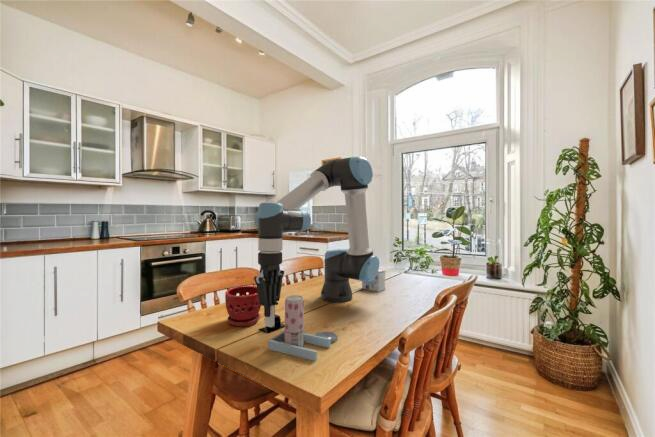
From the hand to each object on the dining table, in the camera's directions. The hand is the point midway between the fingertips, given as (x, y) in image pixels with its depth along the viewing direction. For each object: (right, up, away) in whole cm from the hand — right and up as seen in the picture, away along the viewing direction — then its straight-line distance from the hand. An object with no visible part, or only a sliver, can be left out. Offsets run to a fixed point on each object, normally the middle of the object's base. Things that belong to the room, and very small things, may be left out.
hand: (269, 325), depth 94 cm
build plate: (-1, -5, +11) cm, 12 cm away
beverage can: (+8, -5, -4) cm, 10 cm away
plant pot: (-13, -5, +16) cm, 21 cm away
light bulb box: (+43, -4, +64) cm, 78 cm away
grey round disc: (+18, -5, +2) cm, 18 cm away
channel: (+10, -5, -5) cm, 12 cm away
